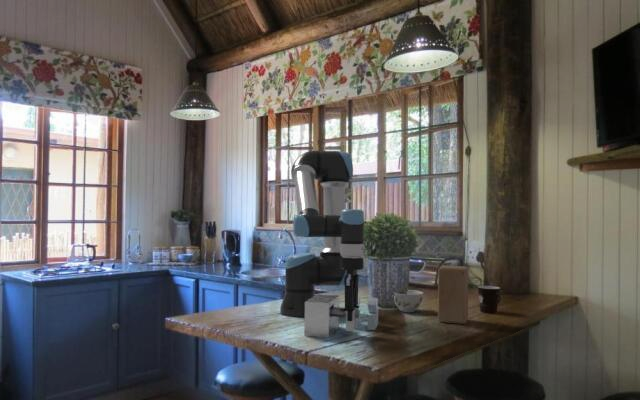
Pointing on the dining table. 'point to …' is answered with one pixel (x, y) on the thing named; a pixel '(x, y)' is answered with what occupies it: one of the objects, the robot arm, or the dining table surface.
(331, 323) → the grey box
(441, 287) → the wooden block
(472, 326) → the dining table surface
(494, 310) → the coffee mug
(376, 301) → the v stand
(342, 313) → the axle
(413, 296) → the teacup
